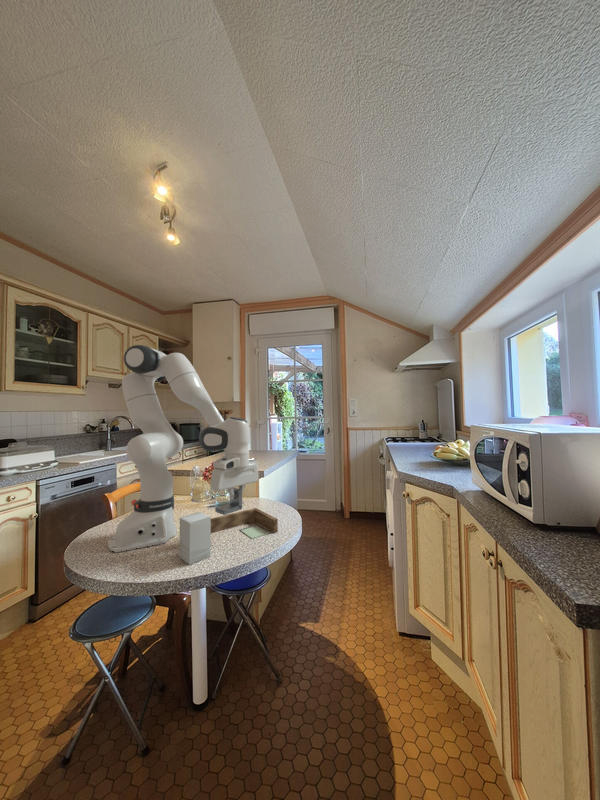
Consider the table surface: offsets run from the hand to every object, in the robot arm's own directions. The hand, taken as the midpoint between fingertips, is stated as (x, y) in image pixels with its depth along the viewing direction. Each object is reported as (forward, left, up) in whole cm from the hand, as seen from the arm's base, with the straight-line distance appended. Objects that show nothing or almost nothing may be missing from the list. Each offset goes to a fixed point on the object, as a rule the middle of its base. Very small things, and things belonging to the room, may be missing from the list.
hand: (236, 498), depth 107 cm
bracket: (-3, -1, -4) cm, 5 cm away
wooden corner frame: (+3, +2, -14) cm, 15 cm away
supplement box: (-17, -5, -15) cm, 23 cm away
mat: (+7, 0, -14) cm, 16 cm away
